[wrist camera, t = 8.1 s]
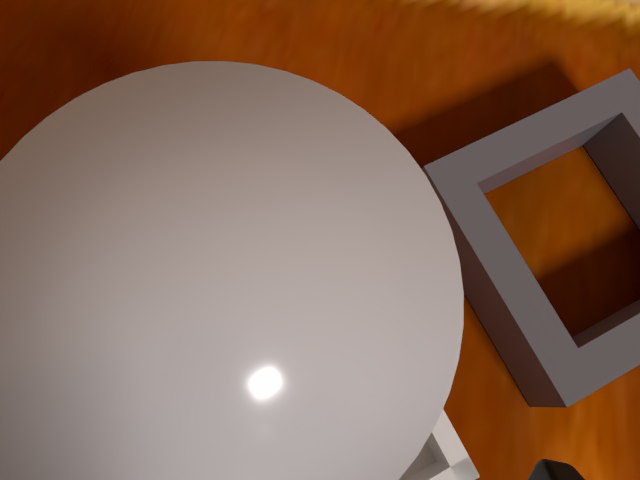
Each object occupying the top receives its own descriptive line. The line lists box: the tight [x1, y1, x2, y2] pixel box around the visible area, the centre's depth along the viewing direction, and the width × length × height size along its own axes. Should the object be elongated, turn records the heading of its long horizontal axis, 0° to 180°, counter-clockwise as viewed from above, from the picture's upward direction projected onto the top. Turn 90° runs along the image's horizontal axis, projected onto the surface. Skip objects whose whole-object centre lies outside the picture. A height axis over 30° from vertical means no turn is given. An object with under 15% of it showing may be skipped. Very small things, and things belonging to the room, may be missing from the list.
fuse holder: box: [422, 69, 640, 408], centre depth 19 cm, size 8×8×2 cm
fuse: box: [0, 61, 464, 480], centre depth 11 cm, size 5×5×13 cm
